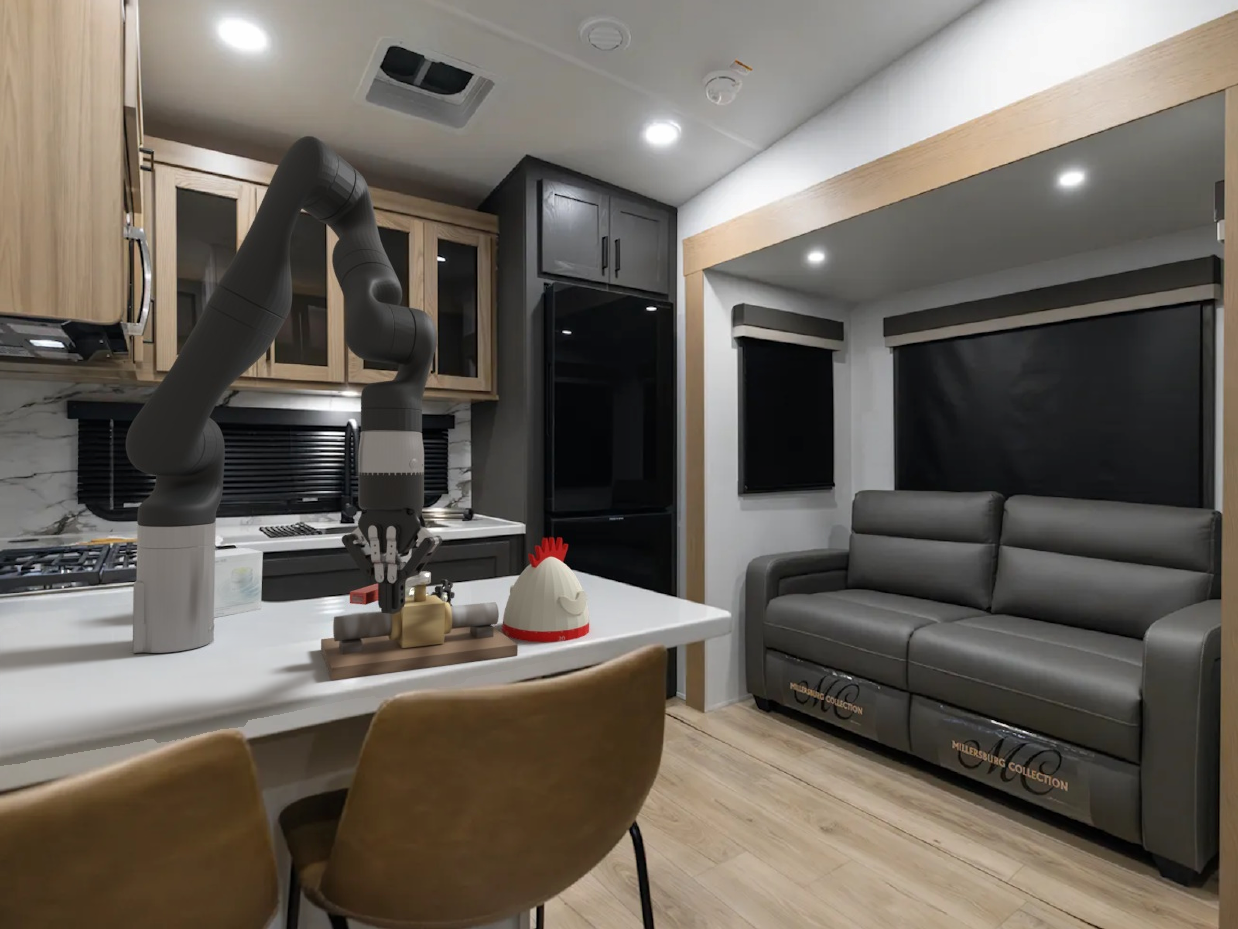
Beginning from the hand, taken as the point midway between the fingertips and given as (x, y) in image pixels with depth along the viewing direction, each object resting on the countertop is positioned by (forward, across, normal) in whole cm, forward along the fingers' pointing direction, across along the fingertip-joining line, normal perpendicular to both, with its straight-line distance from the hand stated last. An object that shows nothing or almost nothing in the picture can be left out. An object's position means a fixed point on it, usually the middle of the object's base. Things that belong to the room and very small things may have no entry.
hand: (391, 612), depth 80 cm
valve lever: (-1, +3, -6) cm, 7 cm away
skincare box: (+8, +47, -21) cm, 52 cm away
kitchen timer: (+9, -9, -29) cm, 32 cm away
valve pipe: (+8, +4, -12) cm, 15 cm away
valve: (+9, +16, -31) cm, 36 cm away
